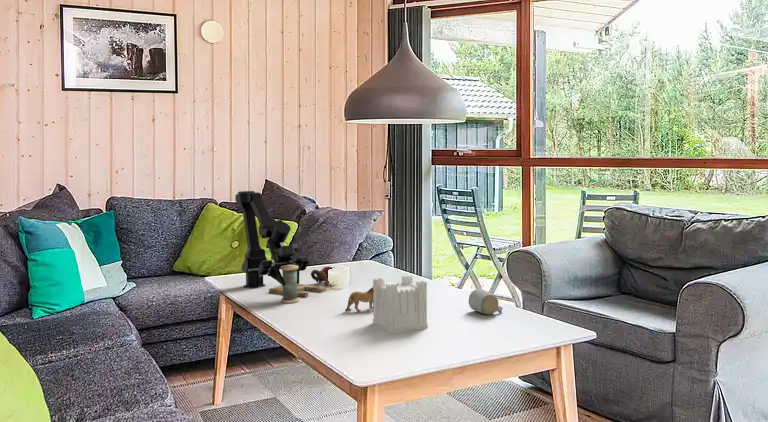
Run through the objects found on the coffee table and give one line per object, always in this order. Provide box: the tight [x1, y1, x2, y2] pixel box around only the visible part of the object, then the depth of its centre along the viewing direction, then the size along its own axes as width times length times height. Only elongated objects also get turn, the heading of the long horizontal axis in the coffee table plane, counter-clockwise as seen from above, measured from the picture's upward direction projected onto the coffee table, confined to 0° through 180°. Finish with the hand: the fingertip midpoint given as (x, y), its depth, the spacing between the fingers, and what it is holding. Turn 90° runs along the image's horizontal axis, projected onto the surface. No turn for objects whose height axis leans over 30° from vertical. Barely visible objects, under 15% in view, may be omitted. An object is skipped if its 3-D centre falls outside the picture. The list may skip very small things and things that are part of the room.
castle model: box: [372, 274, 429, 334], centre depth 207 cm, size 13×15×14 cm
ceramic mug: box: [468, 288, 503, 316], centre depth 222 cm, size 11×8×8 cm
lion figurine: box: [344, 286, 374, 313], centre depth 227 cm, size 15×5×9 cm, turn 118°
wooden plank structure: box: [268, 272, 327, 298], centre depth 258 cm, size 18×13×6 cm
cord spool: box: [280, 265, 300, 304], centre depth 241 cm, size 6×6×13 cm
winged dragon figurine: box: [310, 266, 334, 287], centre depth 272 cm, size 12×10×8 cm
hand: (291, 284), depth 240 cm, fingers closed on cord spool, 5 cm apart
